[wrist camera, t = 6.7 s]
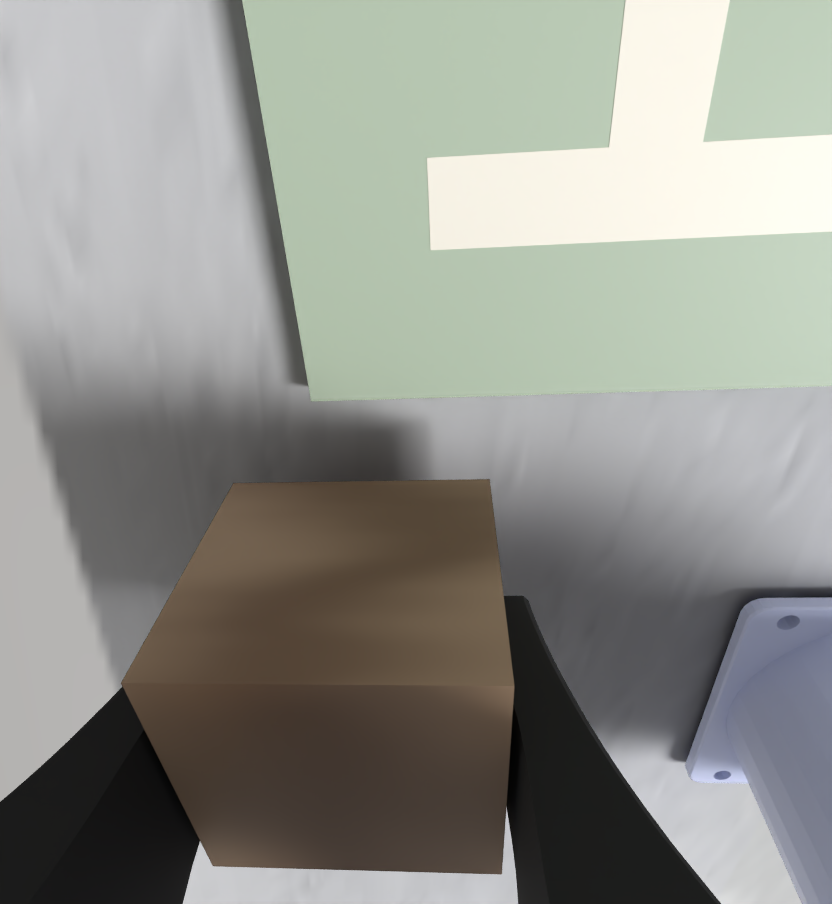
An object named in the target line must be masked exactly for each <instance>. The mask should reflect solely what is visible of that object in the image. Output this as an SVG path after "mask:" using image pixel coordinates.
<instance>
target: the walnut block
mask: <svg viewBox="0 0 832 904" xmlns="http://www.w3.org/2000/svg"><path fill="white" fill-rule="evenodd" d="M121 684H122V686H123V688H124V690H125V692H126V694H127V696H128V698H129V700H130V702H131V704H132V706H133V708H134V710H135V712H136V714H137V716H138V718H139V720H140V722H141V724H142V726H143V728H144V730H145V732H146V734H147V736H148V738H149V740H150V742H151V744H152V746H153V748H154V750H155V752H156V754H157V756H158V758H159V760H160V762H161V764H162V766H163V768H164V770H165V772H166V774H167V776H168V778H169V780H170V782H171V784H172V786H173V788H174V790H175V792H176V794H177V796H178V798H179V800H180V802H181V804H182V805H183V807H184V809H185V811H186V813H187V815H188V817H189V819H190V821H191V823H192V825H193V827H194V829H195V831H196V833H197V835H198V837H199V839H200V841H201V843H202V845H203V847H204V849H205V851H206V853H207V855H208V857H209V859H210V861H211V863H212V865H213V866H225V867H260V868H296V869H331V870H367V871H402V872H438V873H473V874H502V862H503V848H504V833H505V818H506V804H507V789H508V774H509V759H510V745H511V730H512V715H513V701H514V678H513V670H512V661H511V653H510V645H509V636H508V628H507V620H506V612H505V603H504V595H503V587H502V578H501V570H500V562H499V553H498V545H497V537H496V529H495V520H494V512H493V504H492V495H491V487H490V479H477V480H411V481H344V482H278V483H233V485H232V487H231V488H230V490H229V492H228V494H227V495H226V497H225V499H224V501H223V503H222V504H221V506H220V508H219V510H218V511H217V513H216V515H215V517H214V519H213V520H212V522H211V524H210V526H209V527H208V529H207V531H206V533H205V535H204V536H203V538H202V540H201V542H200V543H199V545H198V547H197V549H196V551H195V552H194V554H193V556H192V558H191V559H190V561H189V563H188V565H187V567H186V568H185V570H184V572H183V574H182V575H181V577H180V579H179V581H178V583H177V584H176V586H175V588H174V590H173V591H172V593H171V595H170V597H169V599H168V600H167V602H166V604H165V606H164V607H163V609H162V611H161V613H160V615H159V616H158V618H157V620H156V622H155V623H154V625H153V627H152V629H151V631H150V632H149V634H148V636H147V638H146V639H145V641H144V643H143V645H142V647H141V648H140V650H139V652H138V654H137V656H136V657H135V659H134V661H133V663H132V664H131V666H130V668H129V670H128V672H127V673H126V675H125V677H124V679H123V680H122V682H121Z"/></svg>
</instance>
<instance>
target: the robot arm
mask: <svg viewBox="0 0 832 904" xmlns="http://www.w3.org/2000/svg"><path fill="white" fill-rule="evenodd" d="M504 603H505V612H506V620H507V628H508V636H509V645H510V653H511V661H512V670H513V678H514V701H513V715H512V730H511V745H510V759H509V774H508V789H507V804H506V806H507V812H508V818H509V825H510V831H511V837H512V844H513V852H514V860H515V868H516V879H517V891H518V904H721V903H720V902H719V901H718V899H717V898H716V897H715V896H714V894H713V893H712V892H711V891H710V890H709V888H708V887H707V886H706V885H705V883H704V882H703V881H702V880H701V878H700V877H699V876H698V875H697V874H696V872H695V871H694V870H693V869H692V867H691V866H690V865H689V864H688V862H687V861H686V860H685V859H684V858H683V856H682V855H681V854H680V853H679V851H678V850H677V849H676V848H675V846H674V845H673V844H672V843H671V841H670V840H669V839H668V837H667V836H666V835H665V833H664V832H663V831H662V829H661V828H660V827H659V825H658V824H657V823H656V821H655V820H654V819H653V817H652V816H651V815H650V813H649V812H648V811H647V809H646V808H645V807H644V805H643V804H642V802H641V801H640V799H639V798H638V797H637V795H636V794H635V792H634V791H633V790H632V788H631V787H630V785H629V784H628V783H627V781H626V780H625V778H624V777H623V775H622V774H621V772H620V771H619V769H618V768H617V766H616V765H615V763H614V762H613V760H612V759H611V757H610V756H609V754H608V753H607V751H606V750H605V748H604V747H603V745H602V743H601V742H600V740H599V739H598V737H597V735H596V734H595V732H594V731H593V729H592V727H591V726H590V724H589V722H588V721H587V719H586V717H585V716H584V714H583V712H582V711H581V709H580V707H579V706H578V704H577V702H576V700H575V698H574V697H573V695H572V693H571V691H570V689H569V688H568V686H567V684H566V682H565V680H564V679H563V677H562V675H561V673H560V671H559V669H558V667H557V665H556V663H555V662H554V660H553V658H552V655H551V653H550V651H549V649H548V647H547V645H546V643H545V641H544V639H543V637H542V634H541V632H540V630H539V628H538V625H537V623H536V620H535V618H534V615H533V613H532V610H531V607H530V604H529V601H528V600H527V599H526V598H525V597H524V596H504ZM685 767H686V770H687V773H688V775H689V777H690V778H691V779H692V780H694V781H696V782H700V783H749V785H750V788H751V790H752V792H753V794H754V797H755V799H756V801H757V803H758V806H759V808H760V810H761V812H762V815H763V817H764V819H765V821H766V824H767V826H768V828H769V830H770V833H771V835H772V837H773V839H774V842H775V844H776V846H777V848H778V851H779V853H780V855H781V857H782V860H783V862H784V864H785V867H786V869H787V871H788V873H789V876H790V878H791V880H792V882H793V885H794V887H795V889H796V891H797V894H798V896H799V898H800V900H801V903H802V904H832V597H827V598H760V599H756V600H753V601H751V602H749V603H748V604H746V605H745V606H744V607H743V609H742V610H741V612H740V614H739V617H738V620H737V623H736V625H735V628H734V631H733V634H732V637H731V639H730V642H729V645H728V648H727V650H726V653H725V656H724V659H723V661H722V664H721V667H720V670H719V672H718V675H717V678H716V681H715V684H714V686H713V689H712V692H711V695H710V697H709V700H708V703H707V706H706V708H705V711H704V714H703V717H702V719H701V722H700V725H699V728H698V730H697V733H696V736H695V739H694V742H693V744H692V747H691V750H690V753H689V755H688V758H687V761H686V764H685ZM199 842H200V839H199V837H198V835H197V833H196V831H195V829H194V827H193V825H192V823H191V821H190V819H189V817H188V815H187V813H186V811H185V809H184V807H183V805H182V804H181V802H180V800H179V798H178V796H177V794H176V792H175V790H174V788H173V786H172V784H171V782H170V780H169V778H168V776H167V774H166V772H165V770H164V768H163V766H162V764H161V762H160V760H159V758H158V756H157V754H156V752H155V750H154V748H153V746H152V744H151V742H150V740H149V738H148V736H147V734H146V732H145V730H144V728H143V726H142V724H141V722H140V720H139V718H138V716H137V714H136V712H135V710H134V708H133V706H132V704H131V702H130V700H129V698H128V696H127V694H126V692H125V690H124V688H123V687H122V688H121V689H120V690H119V691H118V692H117V693H116V694H115V695H114V696H113V697H112V698H111V699H110V700H109V701H108V702H107V703H106V704H105V705H104V706H103V707H102V708H101V709H100V710H99V711H98V712H97V713H96V714H95V715H94V716H93V717H92V718H91V719H90V720H89V721H88V722H87V723H86V724H85V725H84V726H83V727H82V728H81V729H80V730H79V731H78V732H77V733H76V734H75V735H74V736H73V737H72V738H71V739H70V740H69V741H68V742H67V743H66V744H65V745H64V746H63V747H61V748H60V749H59V750H58V751H57V752H56V753H55V754H54V755H53V756H52V757H51V758H50V759H49V760H47V761H46V762H45V763H44V764H43V765H42V766H41V767H40V768H39V769H38V770H37V771H35V772H34V773H33V774H32V775H31V776H30V777H29V778H28V779H26V780H25V781H24V782H23V783H22V784H21V785H19V786H18V787H17V788H16V789H15V790H14V791H13V792H11V793H10V794H9V795H8V796H7V797H6V798H4V799H3V800H2V801H1V802H0V904H183V900H184V896H185V892H186V888H187V884H188V880H189V876H190V872H191V869H192V865H193V862H194V858H195V855H196V852H197V849H198V845H199Z"/></svg>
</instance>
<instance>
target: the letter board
mask: <svg viewBox="0 0 832 904" xmlns="http://www.w3.org/2000/svg"><path fill="white" fill-rule="evenodd" d="M242 2H243V8H244V14H245V20H246V26H247V32H248V37H249V43H250V49H251V55H252V61H253V66H254V72H255V78H256V84H257V90H258V96H259V101H260V107H261V113H262V119H263V125H264V130H265V136H266V142H267V148H268V154H269V160H270V165H271V171H272V177H273V183H274V189H275V194H276V200H277V206H278V212H279V218H280V224H281V229H282V235H283V241H284V247H285V253H286V258H287V264H288V270H289V276H290V282H291V287H292V293H293V299H294V305H295V311H296V317H297V322H298V328H299V334H300V340H301V346H302V351H303V357H304V363H305V369H306V375H307V381H308V386H309V392H310V398H311V402H312V401H345V400H379V399H413V398H447V397H480V396H514V395H548V394H581V393H615V392H649V391H682V390H716V389H750V388H784V387H817V386H832V0H242Z"/></svg>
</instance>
